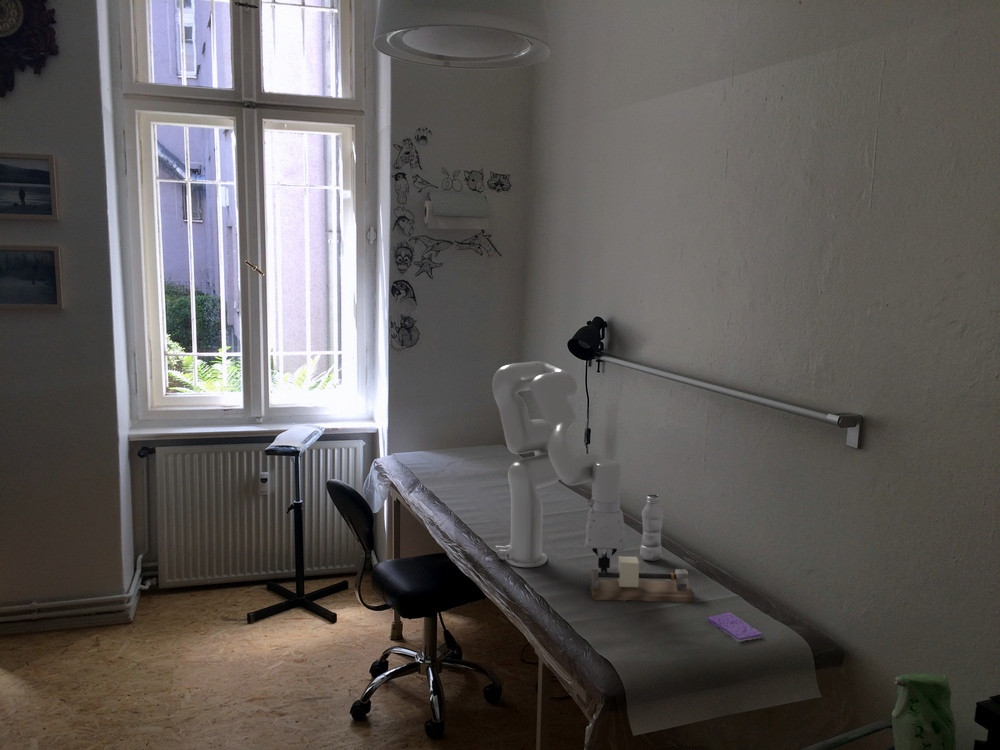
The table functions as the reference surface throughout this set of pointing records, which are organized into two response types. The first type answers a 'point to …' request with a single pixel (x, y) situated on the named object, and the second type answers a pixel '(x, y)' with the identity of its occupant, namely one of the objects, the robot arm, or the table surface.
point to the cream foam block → (628, 571)
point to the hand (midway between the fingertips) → (603, 570)
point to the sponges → (734, 626)
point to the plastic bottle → (652, 529)
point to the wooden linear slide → (642, 587)
